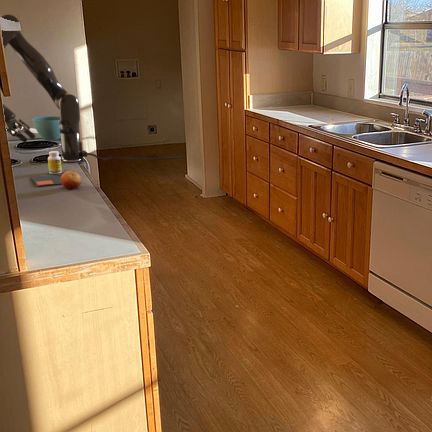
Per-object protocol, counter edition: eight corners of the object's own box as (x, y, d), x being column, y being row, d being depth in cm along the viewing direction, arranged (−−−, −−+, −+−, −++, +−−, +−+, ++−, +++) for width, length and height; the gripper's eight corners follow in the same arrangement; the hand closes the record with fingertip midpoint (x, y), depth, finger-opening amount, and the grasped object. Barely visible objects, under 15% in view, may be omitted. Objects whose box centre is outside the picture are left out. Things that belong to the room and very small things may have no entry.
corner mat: (69, 174, 258) (69, 173, 258) (77, 182, 245) (77, 181, 245) (31, 178, 250) (31, 177, 250) (37, 186, 237) (37, 185, 237)
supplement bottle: (57, 174, 257) (55, 153, 254) (46, 173, 258) (44, 152, 255) (64, 171, 262) (62, 151, 259) (53, 171, 263) (51, 150, 260)
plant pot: (33, 137, 341) (31, 116, 338) (65, 135, 350) (63, 115, 346) (36, 142, 326) (34, 121, 322) (69, 140, 335) (68, 119, 331)
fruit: (68, 180, 242) (74, 166, 238) (81, 192, 240) (86, 177, 236) (53, 184, 235) (58, 170, 231) (66, 196, 233) (72, 181, 230)
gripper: (-1, 109, 244) (29, 136, 248) (13, 105, 257) (41, 131, 261) (-12, 121, 245) (18, 148, 249) (3, 116, 259) (31, 142, 263)
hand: (30, 139), depth 255 cm, fingers open, 8 cm apart
